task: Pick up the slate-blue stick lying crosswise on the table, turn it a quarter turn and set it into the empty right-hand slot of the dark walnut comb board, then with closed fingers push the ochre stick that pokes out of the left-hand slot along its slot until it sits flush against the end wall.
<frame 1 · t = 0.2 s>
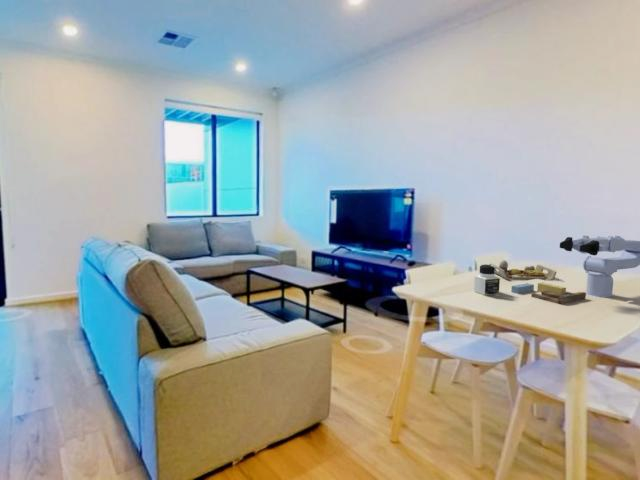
hand: (570, 246, 149), 22 cm above the table, tool horizontal, fingers open, 7 cm apart
stick ochre: (551, 293, 162), point 1 cm above the table, touching comb board
comb board: (557, 299, 156), on the table
toy food set: (521, 277, 196), on the table
medicine bottle: (486, 293, 166), on the table
stick blue: (522, 293, 166), on the table
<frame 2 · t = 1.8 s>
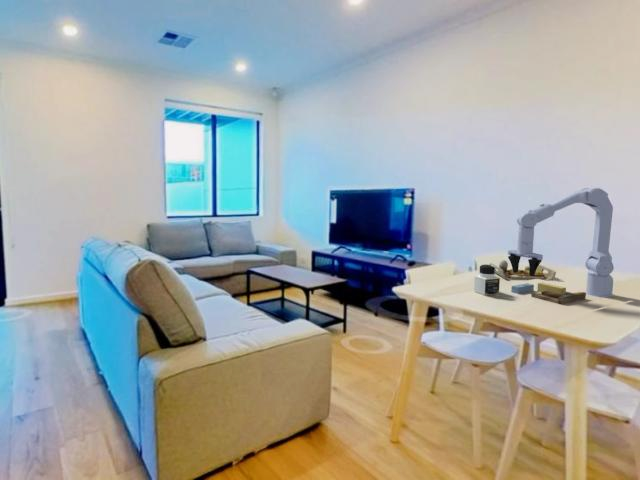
hand: (523, 274, 164), 8 cm above the table, tool pointing down, fingers open, 7 cm apart
nothing on the table moved.
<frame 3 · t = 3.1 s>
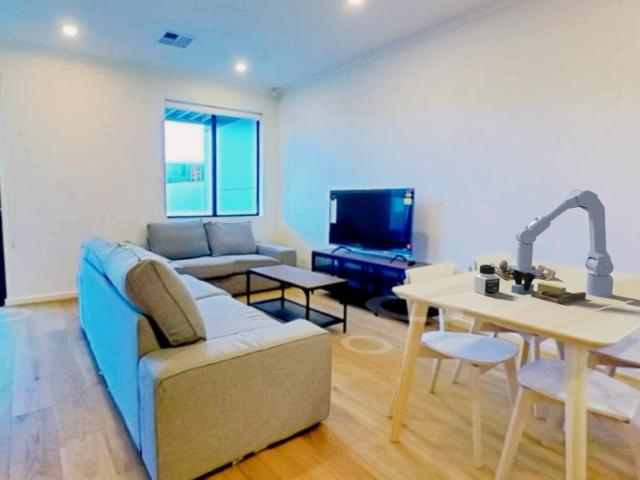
hand: (522, 289, 165), 1 cm above the table, tool pointing down, fingers closed on stick blue, 3 cm apart
stick blue: (522, 292, 165), on the table, touching gripper
everything else where it was.
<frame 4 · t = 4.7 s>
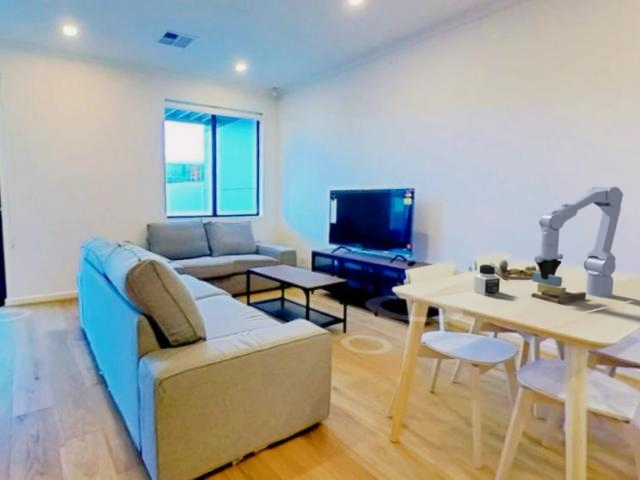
hand: (547, 278, 155), 8 cm above the table, tool pointing down, fingers closed on stick blue, 3 cm apart
stick blue: (546, 283, 156), point 6 cm above the table, touching gripper
everything else where it was.
when the fingers open (3 cm above the table, at t = 6.2 s): stick blue stays where it is, resting on comb board.
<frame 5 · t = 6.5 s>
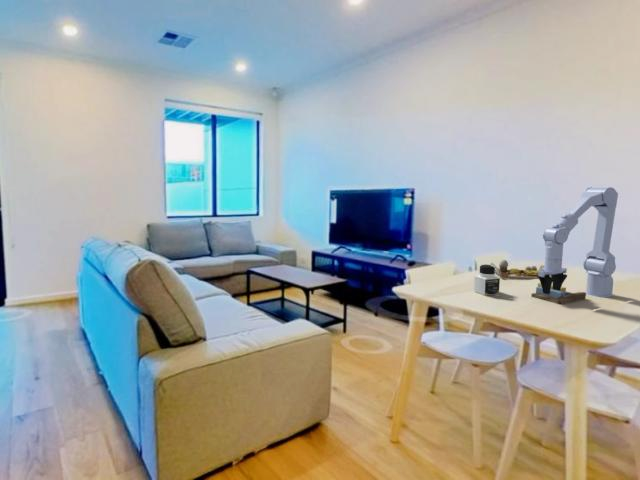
hand: (551, 292, 154), 3 cm above the table, tool pointing down, fingers open, 6 cm apart
stick blue: (550, 298, 155), point 1 cm above the table, touching comb board
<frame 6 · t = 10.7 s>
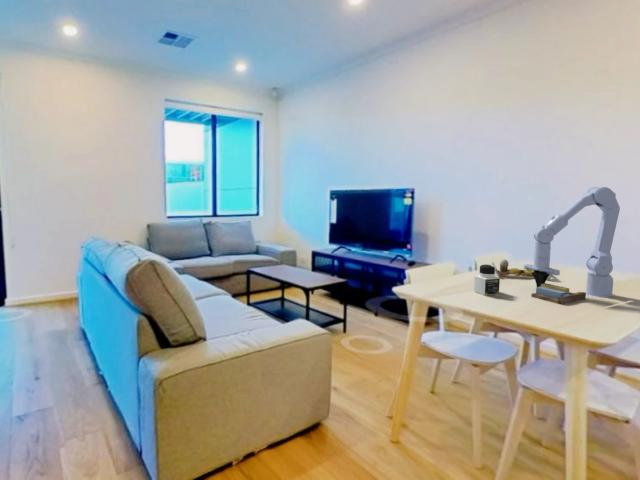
hand: (539, 288, 166), 1 cm above the table, tool pointing down, fingers closed
stick ochre: (554, 294, 160), point 1 cm above the table, touching gripper
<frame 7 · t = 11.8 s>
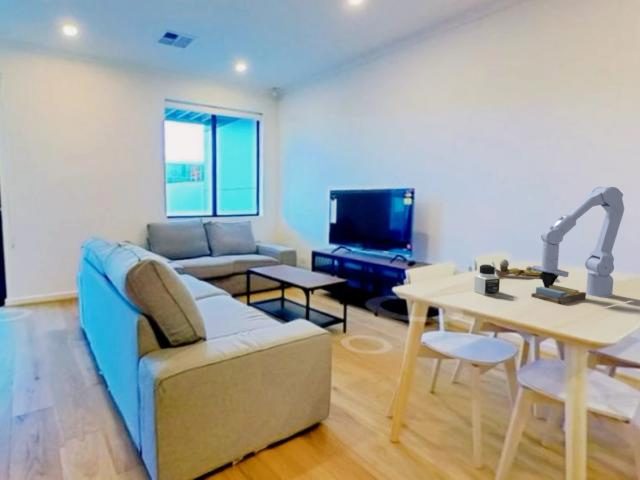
hand: (547, 290, 163), 2 cm above the table, tool pointing down, fingers closed
stick ochre: (563, 296, 157), point 1 cm above the table, touching comb board, gripper
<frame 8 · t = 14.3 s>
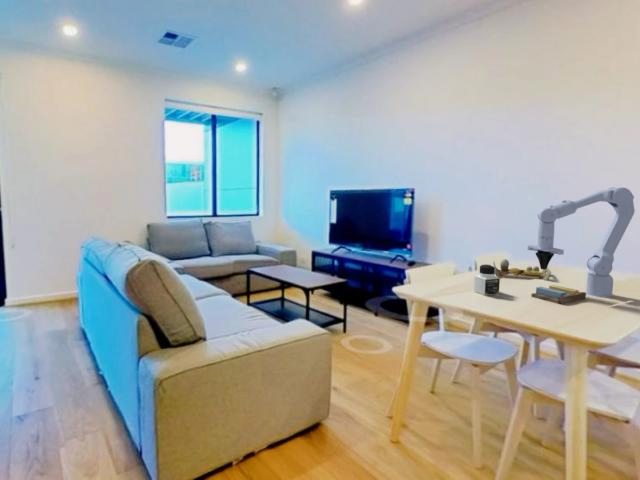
hand: (543, 269, 165), 10 cm above the table, tool pointing down, fingers closed
stick ochre: (563, 296, 157), point 1 cm above the table, touching comb board
at the end: stick blue 0.4 cm from the target spot on the comb board, point 0.6 cm above the comb board's base; stick blue tilted 0°; stick ochre 0.6 cm from the target spot on the comb board, point 0.6 cm above the comb board's base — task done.
